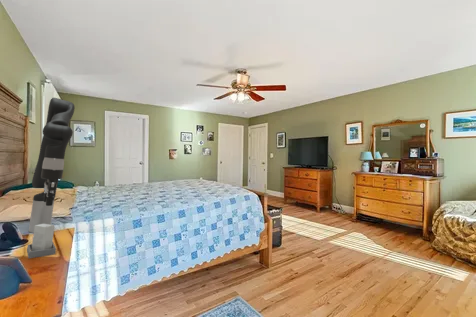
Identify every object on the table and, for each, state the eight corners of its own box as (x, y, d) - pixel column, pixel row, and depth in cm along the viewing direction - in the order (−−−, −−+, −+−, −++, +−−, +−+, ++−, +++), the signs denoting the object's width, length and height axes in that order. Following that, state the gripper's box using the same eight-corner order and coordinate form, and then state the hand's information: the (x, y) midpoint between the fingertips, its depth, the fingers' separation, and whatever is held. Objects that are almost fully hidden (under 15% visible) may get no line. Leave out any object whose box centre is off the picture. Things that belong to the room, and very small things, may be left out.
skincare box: (51, 251, 103) (55, 224, 103) (42, 254, 98) (46, 227, 99) (39, 249, 103) (43, 223, 104) (30, 252, 99) (34, 225, 100)
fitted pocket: (26, 250, 101) (27, 244, 101) (52, 246, 107) (52, 241, 107) (28, 258, 94) (29, 252, 94) (55, 254, 100) (55, 248, 100)
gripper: (40, 166, 105) (35, 201, 104) (43, 168, 95) (38, 207, 94) (60, 167, 110) (56, 200, 109) (65, 170, 100) (60, 206, 99)
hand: (47, 203), depth 102 cm, fingers open, 8 cm apart
